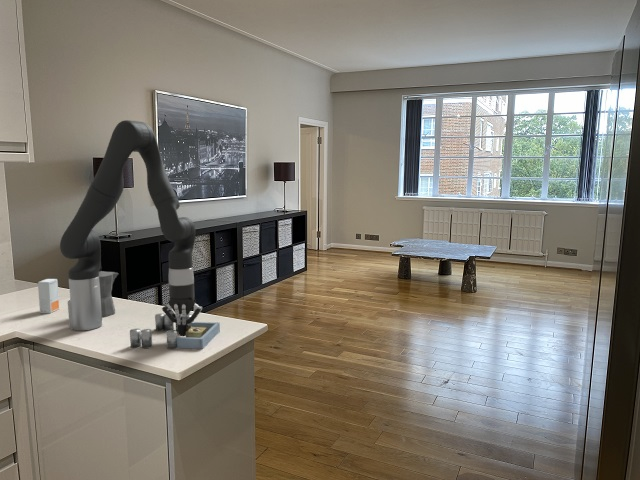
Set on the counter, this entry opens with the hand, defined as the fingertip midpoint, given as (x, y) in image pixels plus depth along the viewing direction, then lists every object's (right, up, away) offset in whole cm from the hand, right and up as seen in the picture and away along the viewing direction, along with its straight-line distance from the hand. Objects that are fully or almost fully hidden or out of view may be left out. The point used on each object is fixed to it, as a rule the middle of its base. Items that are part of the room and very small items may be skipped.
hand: (183, 335), depth 151 cm
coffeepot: (-39, +2, +26) cm, 47 cm away
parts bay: (+4, -1, 0) cm, 4 cm away
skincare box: (-59, +3, +30) cm, 67 cm away
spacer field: (-6, -1, +1) cm, 6 cm away
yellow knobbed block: (+4, -2, -1) cm, 5 cm away
